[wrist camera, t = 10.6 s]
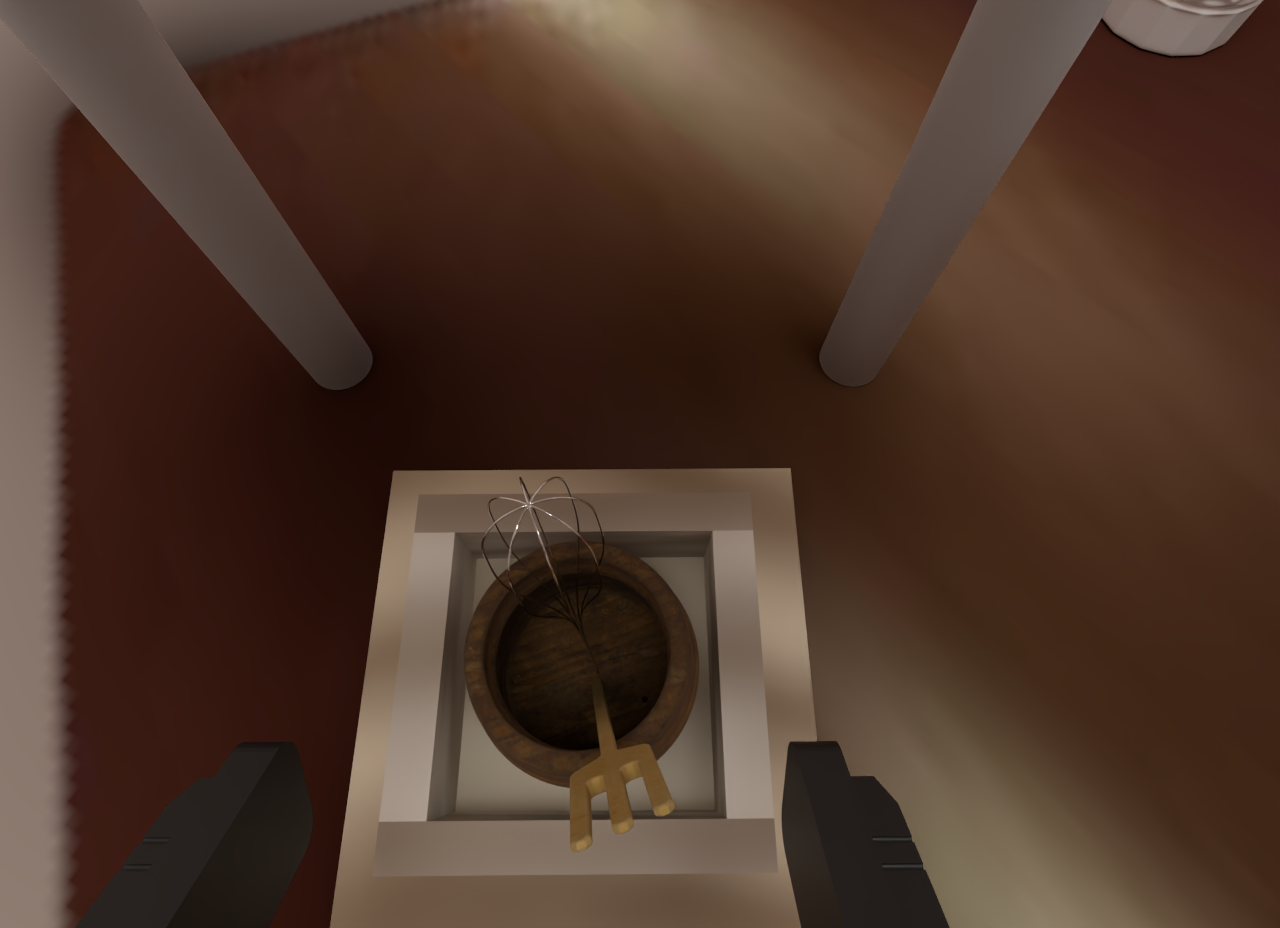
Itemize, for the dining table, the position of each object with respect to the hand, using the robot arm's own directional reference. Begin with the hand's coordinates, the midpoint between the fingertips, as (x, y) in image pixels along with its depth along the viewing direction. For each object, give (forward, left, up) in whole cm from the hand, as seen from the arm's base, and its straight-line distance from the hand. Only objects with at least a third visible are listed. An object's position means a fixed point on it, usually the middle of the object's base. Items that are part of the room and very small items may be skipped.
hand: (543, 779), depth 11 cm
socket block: (-2, -2, -11) cm, 12 cm away
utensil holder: (-2, -1, -10) cm, 11 cm away
